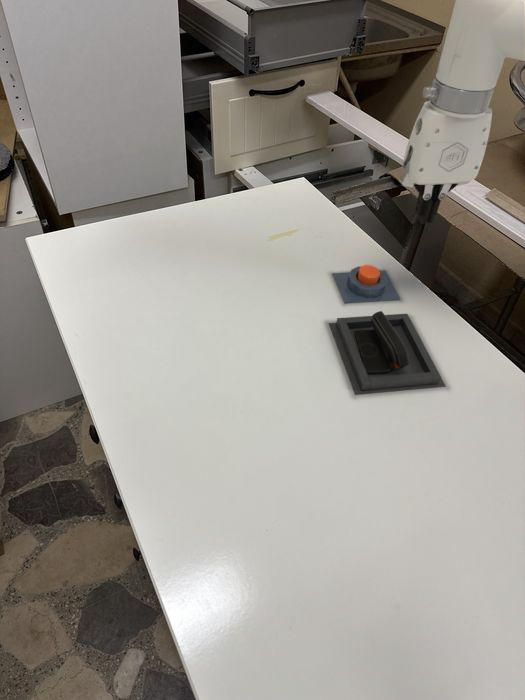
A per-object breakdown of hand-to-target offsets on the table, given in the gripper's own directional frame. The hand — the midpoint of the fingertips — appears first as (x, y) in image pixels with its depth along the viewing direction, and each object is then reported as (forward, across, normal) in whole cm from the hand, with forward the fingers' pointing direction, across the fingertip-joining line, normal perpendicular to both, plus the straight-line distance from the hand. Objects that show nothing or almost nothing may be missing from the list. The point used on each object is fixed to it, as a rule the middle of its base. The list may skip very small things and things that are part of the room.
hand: (423, 218), depth 82 cm
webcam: (+14, -9, -15) cm, 22 cm away
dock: (+15, -8, -15) cm, 23 cm away
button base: (+15, -6, +1) cm, 16 cm away
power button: (+12, -6, +1) cm, 14 cm away
